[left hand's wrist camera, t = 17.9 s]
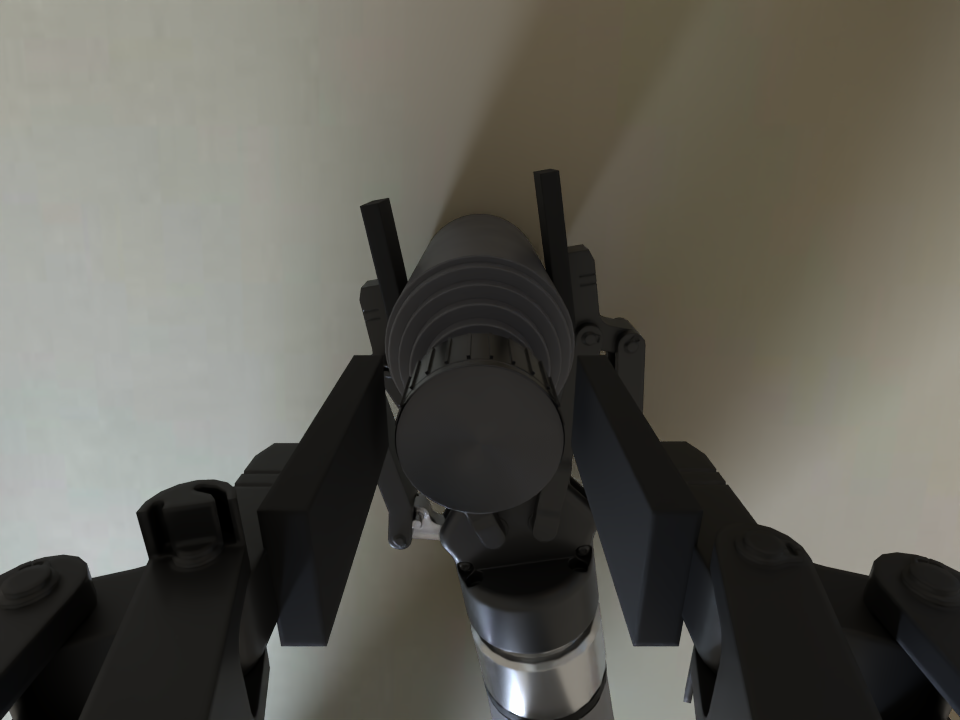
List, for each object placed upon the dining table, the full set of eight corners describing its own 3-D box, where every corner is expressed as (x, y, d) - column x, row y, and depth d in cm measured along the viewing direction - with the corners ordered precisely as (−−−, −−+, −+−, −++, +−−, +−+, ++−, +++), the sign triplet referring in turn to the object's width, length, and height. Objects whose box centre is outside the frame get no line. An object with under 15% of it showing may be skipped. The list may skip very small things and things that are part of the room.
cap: (574, 352, 14) (591, 387, 12) (529, 479, 15) (537, 531, 13) (423, 313, 14) (413, 342, 11) (391, 447, 15) (376, 495, 13)
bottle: (483, 350, 32) (486, 581, 14) (398, 277, 30) (290, 439, 13) (561, 269, 30) (670, 425, 13) (476, 187, 28) (470, 239, 11)
